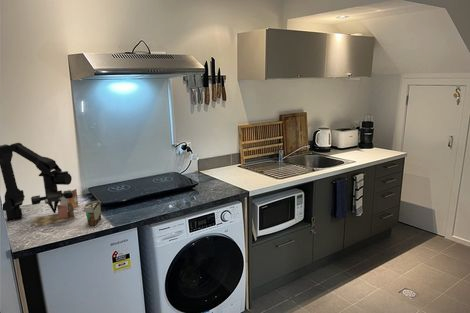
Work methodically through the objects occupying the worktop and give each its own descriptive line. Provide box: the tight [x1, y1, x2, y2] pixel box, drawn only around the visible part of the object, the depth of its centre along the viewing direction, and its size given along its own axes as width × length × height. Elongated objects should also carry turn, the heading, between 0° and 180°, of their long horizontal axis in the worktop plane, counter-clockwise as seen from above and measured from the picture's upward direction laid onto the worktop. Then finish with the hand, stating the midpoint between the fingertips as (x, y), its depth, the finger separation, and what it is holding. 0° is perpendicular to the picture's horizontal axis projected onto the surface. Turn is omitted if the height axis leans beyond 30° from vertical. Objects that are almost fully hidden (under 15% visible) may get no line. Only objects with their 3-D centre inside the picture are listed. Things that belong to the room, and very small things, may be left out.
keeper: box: [56, 204, 68, 219], centre depth 180 cm, size 4×6×6 cm, turn 32°
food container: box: [83, 200, 102, 227], centre depth 173 cm, size 12×6×10 cm, turn 5°
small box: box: [59, 188, 79, 211], centre depth 195 cm, size 8×6×10 cm
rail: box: [33, 202, 76, 228], centre depth 178 cm, size 18×8×7 cm, turn 122°
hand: (54, 212), depth 178 cm, fingers closed
